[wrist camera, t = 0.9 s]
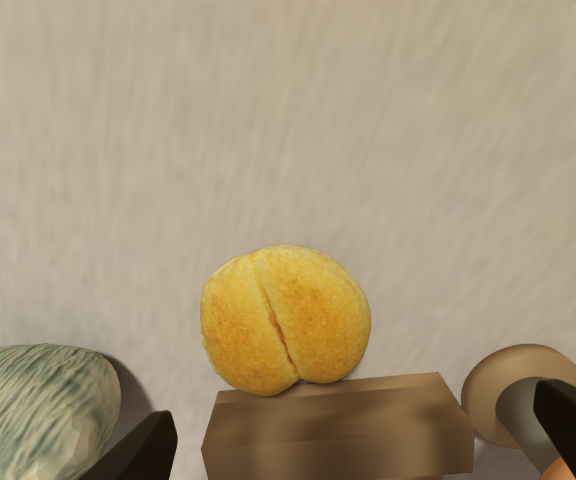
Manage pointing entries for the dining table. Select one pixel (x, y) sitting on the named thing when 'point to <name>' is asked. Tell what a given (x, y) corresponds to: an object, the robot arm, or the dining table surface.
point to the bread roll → (283, 319)
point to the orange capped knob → (517, 402)
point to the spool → (54, 411)
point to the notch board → (341, 432)
